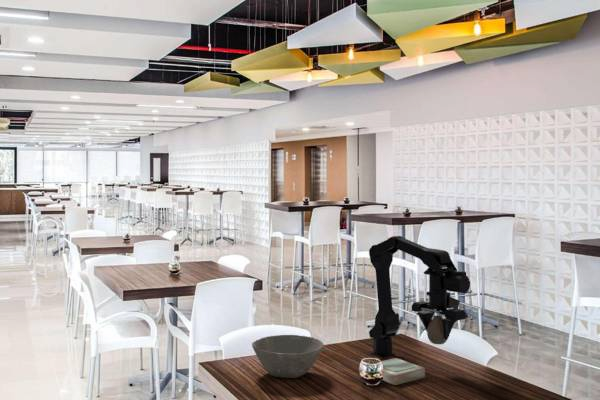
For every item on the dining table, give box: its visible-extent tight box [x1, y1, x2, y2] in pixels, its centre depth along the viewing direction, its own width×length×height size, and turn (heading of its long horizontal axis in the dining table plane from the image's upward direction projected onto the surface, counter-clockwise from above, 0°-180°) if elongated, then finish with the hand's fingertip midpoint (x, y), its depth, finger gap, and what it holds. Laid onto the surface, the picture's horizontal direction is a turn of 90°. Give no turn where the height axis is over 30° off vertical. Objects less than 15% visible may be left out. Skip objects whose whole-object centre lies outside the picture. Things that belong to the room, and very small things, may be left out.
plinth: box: [380, 357, 426, 386], centre depth 178 cm, size 13×13×3 cm
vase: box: [426, 315, 448, 345], centre depth 183 cm, size 7×7×9 cm
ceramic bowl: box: [251, 334, 324, 379], centre depth 179 cm, size 22×23×10 cm
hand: (437, 336), depth 183 cm, fingers closed on vase, 7 cm apart
